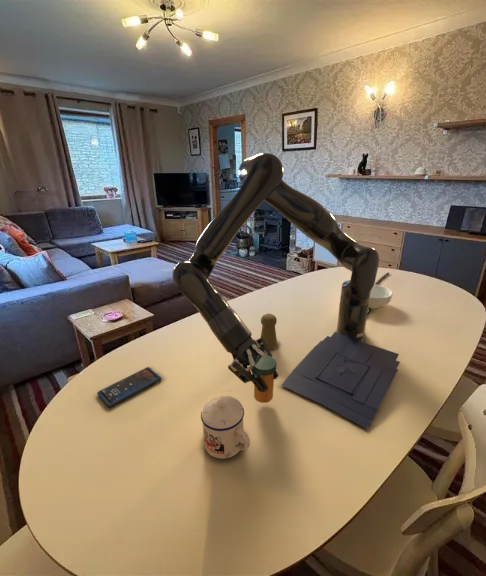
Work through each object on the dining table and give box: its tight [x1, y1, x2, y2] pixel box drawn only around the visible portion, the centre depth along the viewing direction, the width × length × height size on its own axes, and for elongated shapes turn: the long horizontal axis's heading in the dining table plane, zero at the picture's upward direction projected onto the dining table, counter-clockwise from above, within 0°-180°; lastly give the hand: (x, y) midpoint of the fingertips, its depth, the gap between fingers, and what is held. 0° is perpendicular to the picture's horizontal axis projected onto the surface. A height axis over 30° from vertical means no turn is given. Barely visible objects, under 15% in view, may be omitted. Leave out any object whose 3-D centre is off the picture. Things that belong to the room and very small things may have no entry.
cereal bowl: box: [368, 283, 393, 310], centre depth 131 cm, size 17×17×7 cm
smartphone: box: [96, 366, 162, 408], centre depth 84 cm, size 8×1×15 cm
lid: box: [254, 354, 278, 376], centre depth 74 cm, size 6×6×2 cm
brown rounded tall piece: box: [260, 313, 278, 351], centre depth 102 cm, size 6×6×11 cm
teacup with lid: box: [200, 395, 251, 460], centre depth 65 cm, size 12×9×12 cm
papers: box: [281, 331, 401, 429], centre depth 88 cm, size 24×30×4 cm
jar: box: [253, 373, 275, 404], centre depth 76 cm, size 5×5×10 cm
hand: (270, 383), depth 76 cm, fingers closed on jar, 5 cm apart
